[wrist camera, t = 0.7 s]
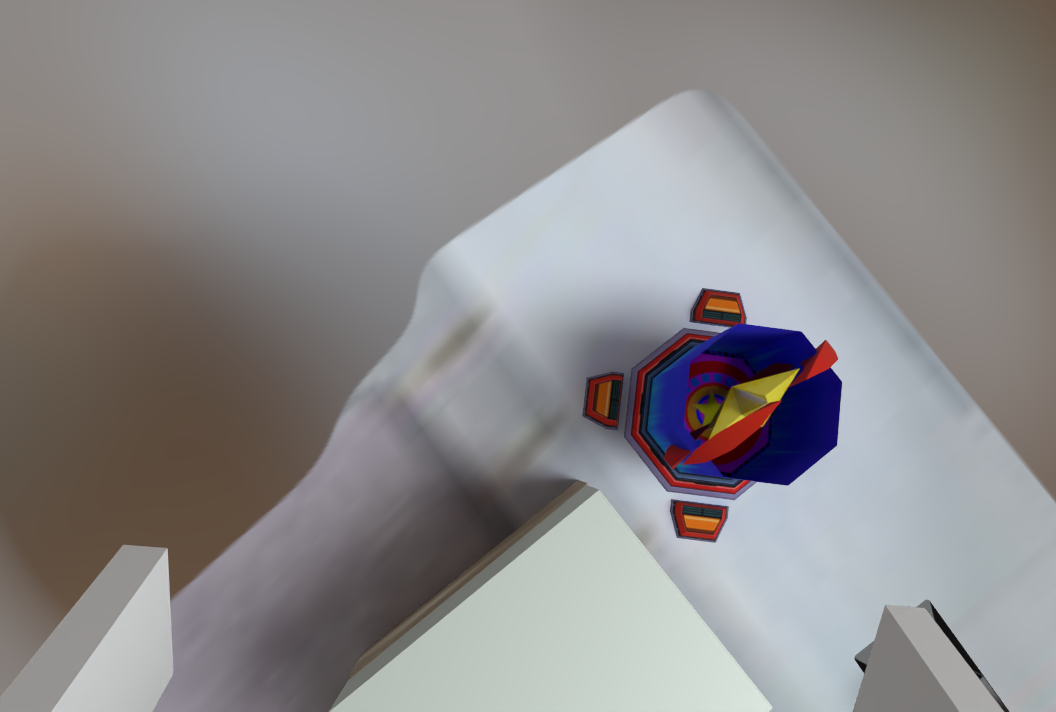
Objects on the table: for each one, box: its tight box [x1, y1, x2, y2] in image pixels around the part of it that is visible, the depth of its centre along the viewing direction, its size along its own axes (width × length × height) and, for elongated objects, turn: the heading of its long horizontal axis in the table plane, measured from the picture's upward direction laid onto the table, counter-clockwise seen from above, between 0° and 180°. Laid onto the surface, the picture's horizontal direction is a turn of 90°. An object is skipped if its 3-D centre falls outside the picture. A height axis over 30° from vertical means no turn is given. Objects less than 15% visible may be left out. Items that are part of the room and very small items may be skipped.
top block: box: [328, 485, 773, 712], centre depth 37 cm, size 12×15×5 cm
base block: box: [348, 480, 589, 679], centre depth 42 cm, size 12×15×5 cm
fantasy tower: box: [583, 288, 842, 543], centre depth 40 cm, size 12×12×12 cm
